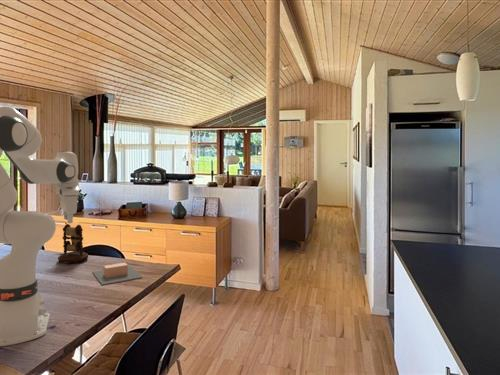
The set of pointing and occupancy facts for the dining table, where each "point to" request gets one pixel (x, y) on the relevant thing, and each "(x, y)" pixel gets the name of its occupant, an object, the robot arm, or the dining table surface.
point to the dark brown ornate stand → (73, 245)
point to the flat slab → (115, 279)
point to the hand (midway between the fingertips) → (68, 221)
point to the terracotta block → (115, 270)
